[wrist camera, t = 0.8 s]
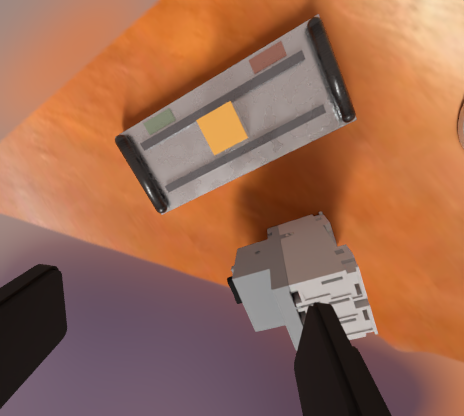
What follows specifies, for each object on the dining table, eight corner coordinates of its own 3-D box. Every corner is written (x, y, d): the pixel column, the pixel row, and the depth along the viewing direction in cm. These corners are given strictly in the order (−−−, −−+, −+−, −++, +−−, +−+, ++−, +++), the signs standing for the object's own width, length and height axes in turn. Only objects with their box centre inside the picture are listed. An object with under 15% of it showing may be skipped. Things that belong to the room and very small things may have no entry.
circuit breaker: (229, 240, 39) (211, 306, 25) (321, 211, 36) (361, 265, 22) (246, 280, 41) (239, 362, 26) (335, 255, 38) (380, 333, 23)
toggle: (235, 105, 30) (230, 100, 25) (249, 136, 31) (247, 138, 26) (206, 121, 31) (196, 120, 26) (221, 151, 32) (214, 155, 27)
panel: (313, 23, 29) (322, 7, 25) (349, 120, 32) (362, 119, 28) (124, 136, 36) (107, 137, 32) (167, 209, 38) (157, 218, 34)
